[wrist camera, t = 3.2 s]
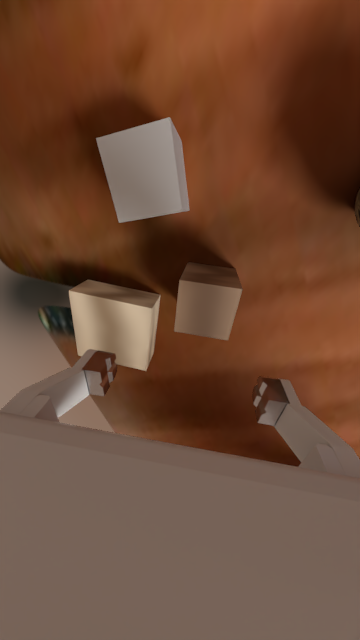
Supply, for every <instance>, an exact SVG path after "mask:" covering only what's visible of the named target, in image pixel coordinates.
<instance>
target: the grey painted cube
mask: <svg viewBox="0 0 360 640" xmlns="http://www.w3.org/2000/svg"><path fill="white" fill-rule="evenodd" d="M96 141H97V144H98V148H99V152H100V155H101V159H102V163H103V166H104V170H105V173H106V177H107V181H108V184H109V188H110V192H111V195H112V199H113V203H114V206H115V210H116V213H117V217H118V221H119V223H121V222H127V221H134V220H140V219H145V218H151V217H156V216H162V215H167V214H173V213H179V212H184V211H190V210H189V202H188V193H187V184H186V176H185V167H184V158H183V150H182V141H181V139H180V137H179V135H178V133H177V131H176V129H175V127H174V125H173V123H172V121H171V119H170V117H169V118H165V119H162V120H158V121H155V122H151V123H148V124H144V125H141V126H137V127H134V128H130V129H127V130H123V131H120V132H116V133H113V134H109V135H106V136H102V137H99V138H96Z"/></svg>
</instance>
